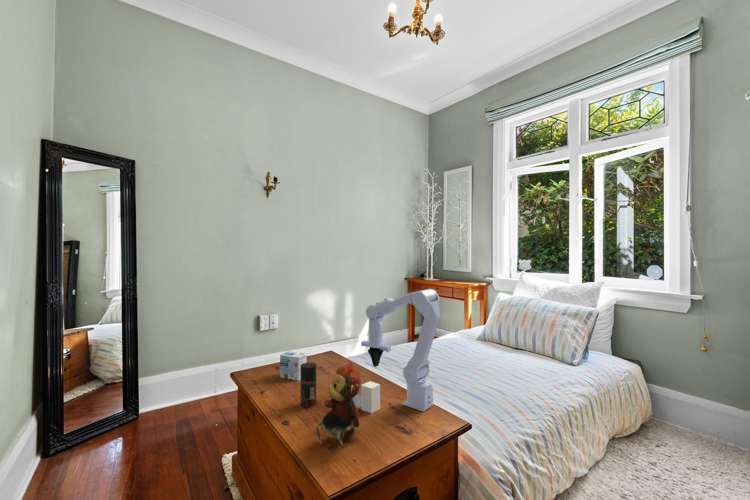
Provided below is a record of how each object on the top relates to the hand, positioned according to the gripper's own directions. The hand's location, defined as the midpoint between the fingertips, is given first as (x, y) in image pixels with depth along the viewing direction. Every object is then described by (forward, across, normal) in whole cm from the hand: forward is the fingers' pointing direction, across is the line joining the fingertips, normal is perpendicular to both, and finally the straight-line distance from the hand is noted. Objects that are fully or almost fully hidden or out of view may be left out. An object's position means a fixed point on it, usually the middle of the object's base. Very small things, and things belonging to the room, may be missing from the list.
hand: (375, 365), depth 143 cm
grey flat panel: (+10, +1, +14) cm, 17 cm away
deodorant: (+11, +12, +26) cm, 31 cm away
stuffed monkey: (+11, -15, +36) cm, 40 cm away
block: (+10, -9, +14) cm, 20 cm away
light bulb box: (+11, +40, +12) cm, 43 cm away
